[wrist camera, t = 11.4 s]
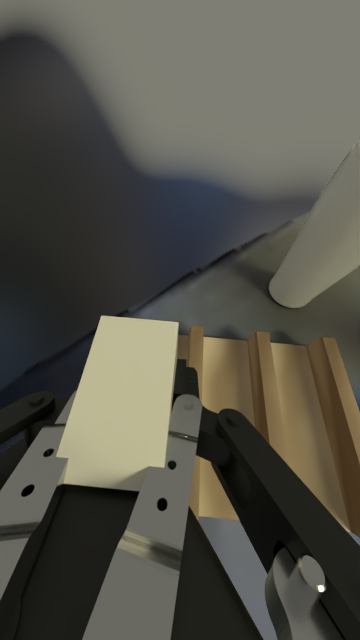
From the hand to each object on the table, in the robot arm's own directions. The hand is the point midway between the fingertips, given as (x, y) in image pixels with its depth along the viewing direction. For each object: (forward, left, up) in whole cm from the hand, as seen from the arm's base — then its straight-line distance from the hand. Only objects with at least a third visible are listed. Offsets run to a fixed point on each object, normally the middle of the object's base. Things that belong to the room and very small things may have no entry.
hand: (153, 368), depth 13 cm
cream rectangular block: (0, +2, -5) cm, 5 cm away
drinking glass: (-15, -13, -7) cm, 21 cm away
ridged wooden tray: (-6, +2, -7) cm, 10 cm away
